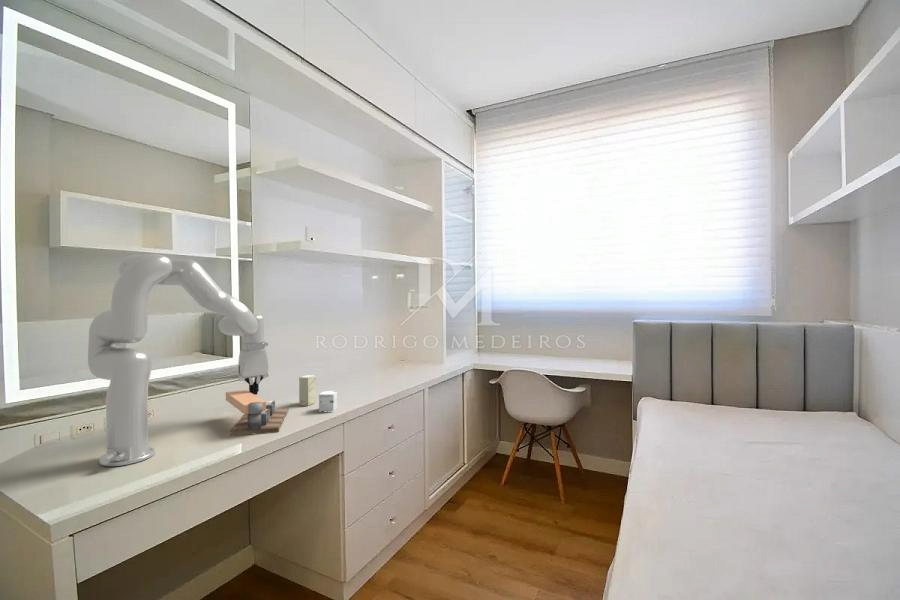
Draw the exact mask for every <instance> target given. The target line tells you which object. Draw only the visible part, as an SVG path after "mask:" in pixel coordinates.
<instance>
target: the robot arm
mask: <svg viewBox="0 0 900 600" xmlns="http://www.w3.org/2000/svg"><path fill="white" fill-rule="evenodd" d="M117 268H118V273H119V275H120V276H119V277H118V279H117V280H116V282H115V284H114V286H113V289H112V294H111V302H110V309H109V310H105V311H102V312H100V313H99V314H97V315H96V316H95V317H94V318H93V319H92V321H91V323H90V325H89V329H88V344H87V345H88V347H87V348H88V349H87V365H88V366H87V367H88V369H89V371H90V373H91V374H92V375H93V376H94V377H96V378H97V379H102V380H108V381H110V382H109V386H108V388H107V390H106V396H105V413H106V414H105V421H106V422H105V424H106V425H105V429H106V430H105V431H106V432H105V435H106V437H105V438H106V439H105V440H106V441H105V444H106V449H105V450H106V453H105V454H104V455H102V456H101V457H99V460H98V463H99V464H98V465H100V466H103V467H119V466H126V465H132V464H136V463H139V462H142V461H145V460H147V459H149V458H151V457H153V456H154V455H155V451H156V449H155V448H154V447H152V446H150V445H149V384H150V383H149V382H150V378H151V373H152V360H151V358H150V356H149V355H148V354H147V353H146V352H145V351H143V350H141V349H138V348H132V347H131V348H130V347H127V344H135V343H138V342H140V341H142V340H143V339H144V338H145V337H146V335H147V332H148V321H149V317H148V316H149V303H150V302H149V299H150V296H151V293H152V291H153V289H154V287H156V286H157V285H163V286H181V287H182V289H184V291H185V292H187V294H189V295H190V296H191V298H192V299H193V300H194V301H195V302H196V303H197V304H198V305H199V306H200V307H202V308H203V309H206V310H208V311H212V312H214V313H217V314H220V315H222V316H223V317H222V318H221V319H220V320H219V322H218V330H219V331H220V332H221V333H222V334H224V335H227V336H233V337H237V336H238V337H239V336H240V337H241V338H242V342H241V343H242V345H241V346H242V350H240V351H239V355H238V361H237V362H238V364H237V375H238V377H237V378H238V379H237V380H238V381H240V382H246V384H248V391H249V392H250V393H252V394H254V395H255V396H257V395H258V392H259V391H260V389H259V387H260V386H259V385H260V382H262V381H263V379H266V378H269V359H268V352H267V350H266V347H268V346H269V343H268V342H265V320H264V316H263V315H262V314H254V313H253V312H252V311H251V309H249V307H248V306H246V305H245V304H244V303H243V302H242V301H240V300H238V299H237V298H235V297H233V296H232V295H230V294H229V293H228V292H226V291H224V290H222V289H221V287H220V286H219V285H218V284H217V283H216V282H215V280H214V279H213V278H212V277H211V276H210V274H208V272H207V271H206V270H205V269H204V268H203V266H202V265H201V264H200V263H198V262H197V261H196V260H193V259H187V258H185V259H183V258H182V259H181V258H180V259H170V258H169V257H168V256H167V255H164V254H160V253H144V254H132V255H128V256H125V257H124V258H122V259H121V260H120V262H119V264H118V267H117Z"/></svg>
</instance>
